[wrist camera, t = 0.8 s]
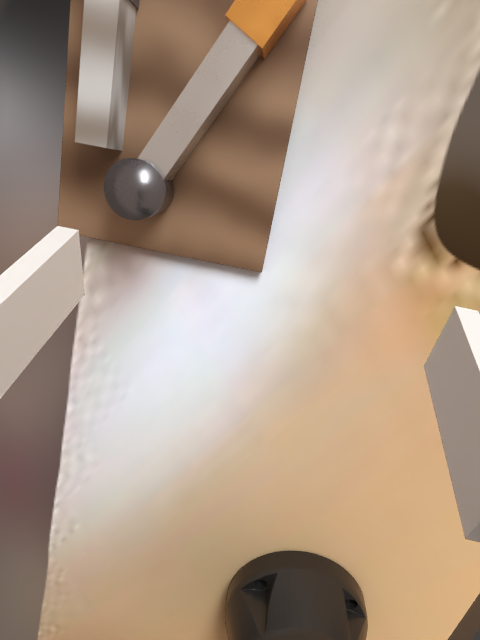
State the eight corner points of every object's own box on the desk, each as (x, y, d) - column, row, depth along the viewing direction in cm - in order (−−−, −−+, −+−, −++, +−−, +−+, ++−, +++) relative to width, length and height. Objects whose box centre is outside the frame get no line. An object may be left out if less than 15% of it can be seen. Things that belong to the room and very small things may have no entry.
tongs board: (262, 270, 39) (259, 281, 35) (61, 229, 40) (35, 236, 36) (330, -60, 32) (337, -95, 28) (82, -105, 32) (52, -146, 28)
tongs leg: (154, 226, 38) (140, 232, 34) (111, 192, 38) (92, 194, 34) (315, 3, 32) (320, -21, 28) (267, -42, 32) (265, -71, 28)
